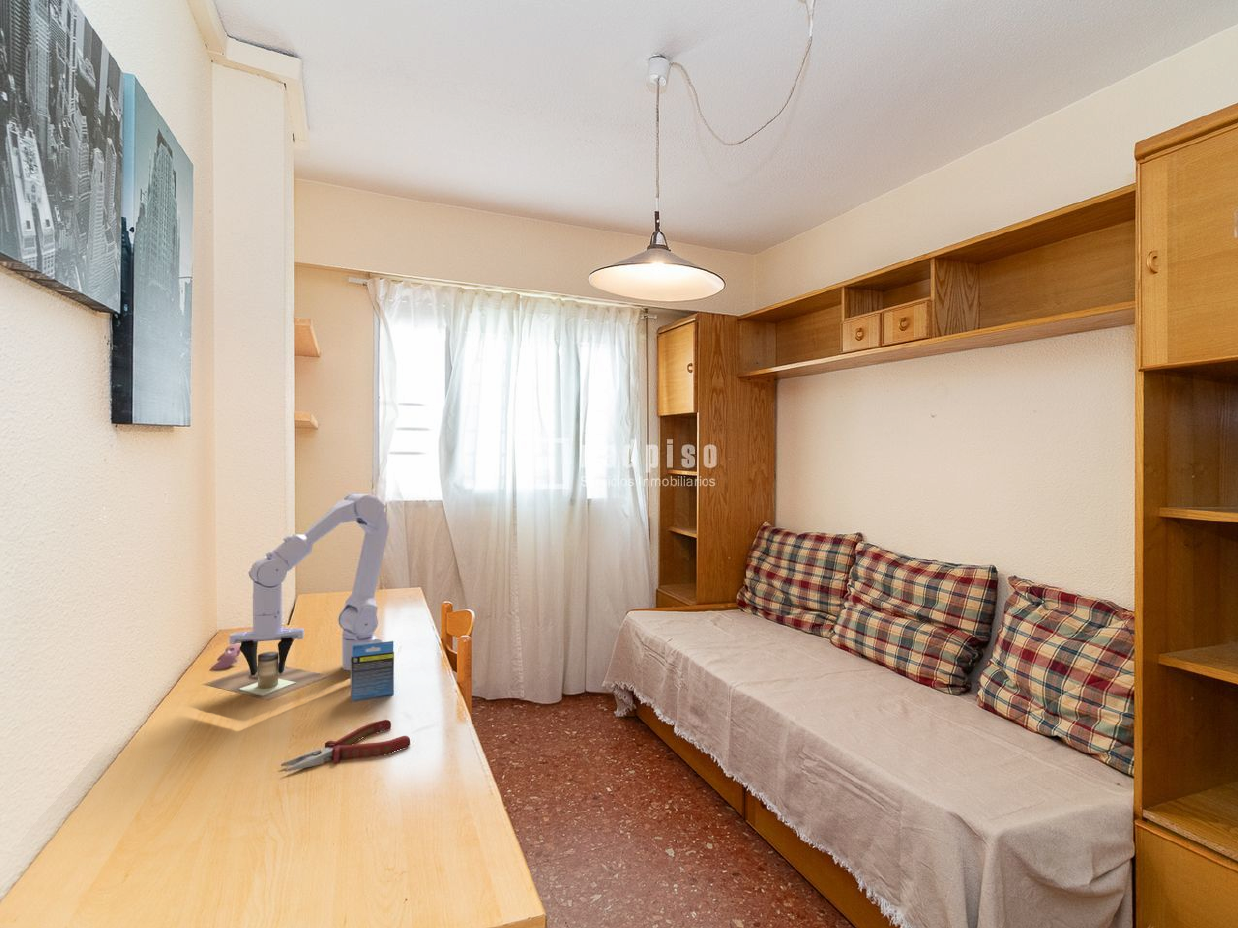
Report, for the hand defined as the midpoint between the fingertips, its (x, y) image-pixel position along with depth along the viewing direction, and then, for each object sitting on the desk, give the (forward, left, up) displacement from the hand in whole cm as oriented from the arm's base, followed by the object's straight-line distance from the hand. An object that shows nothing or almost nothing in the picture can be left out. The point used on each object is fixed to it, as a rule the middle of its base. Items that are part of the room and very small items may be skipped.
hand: (267, 672), depth 137 cm
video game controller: (+24, -7, -5) cm, 26 cm away
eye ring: (+8, -6, -3) cm, 11 cm away
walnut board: (+4, -3, -5) cm, 7 cm away
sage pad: (0, 0, -3) cm, 3 cm away
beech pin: (0, 0, -3) cm, 3 cm away
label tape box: (-22, -9, -5) cm, 24 cm away
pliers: (-37, +11, -6) cm, 39 cm away
